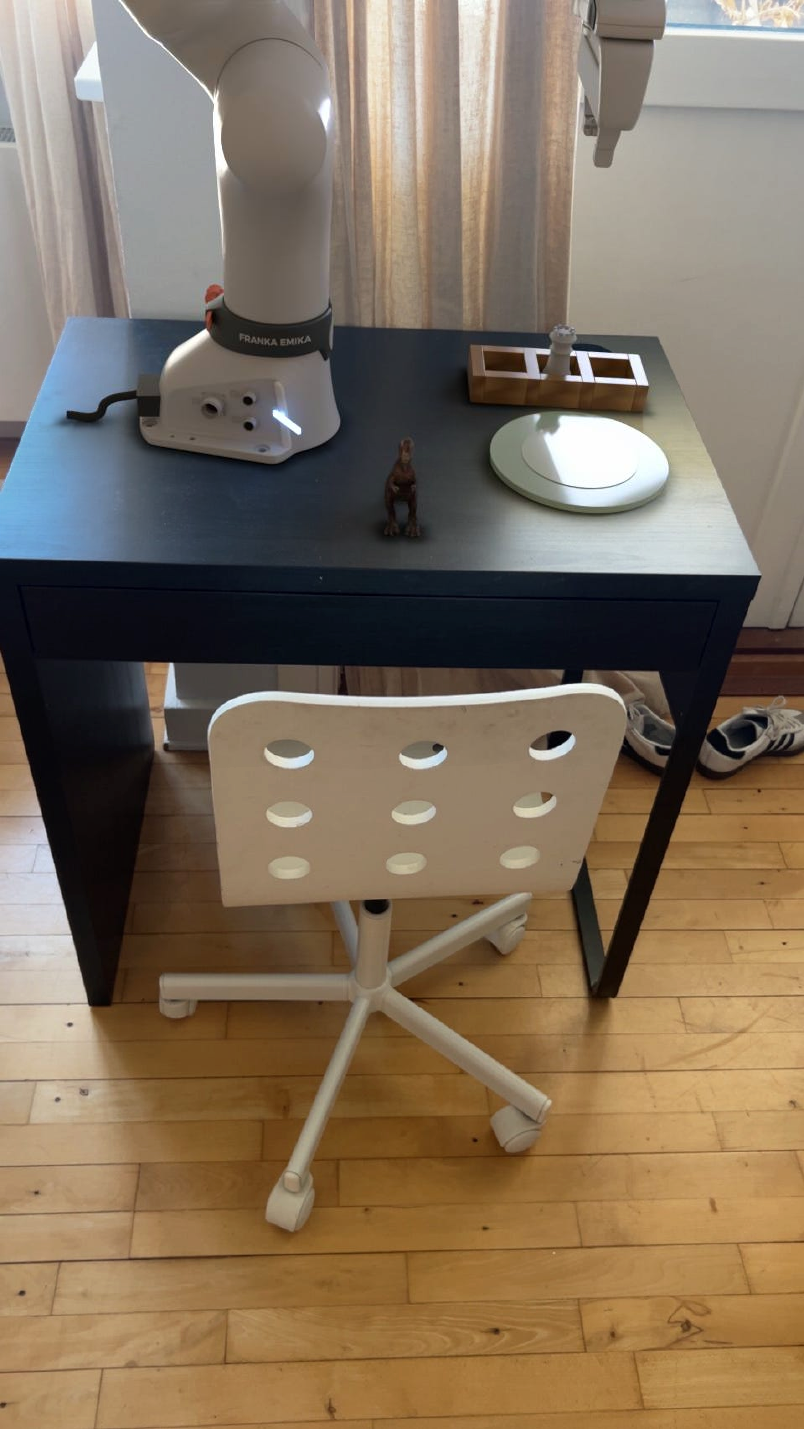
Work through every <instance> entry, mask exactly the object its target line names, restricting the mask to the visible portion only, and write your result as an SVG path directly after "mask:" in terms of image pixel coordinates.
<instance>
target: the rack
mask: <svg viewBox="0 0 804 1429" xmlns="http://www.w3.org/2000/svg"><path fill="white" fill-rule="evenodd" d="M549 356H550V348H536V347H521V346H520V347H519V346H518V347H517V346H505V345H504V346H501V345H485V344H483V345H481V344H470V345H469V352H468V361H467V372H466V373H467V382H468V393H469V402H470V403H477V404H479V403H481V404H492V405H493V404H494V405H495V404H496V405H512V406H529V407H545V408H546V407H547V408H563V409H564V408H565V409H581V410H600V411H619V412H620V411H621V412H632V413H633V412H636V413H644V410H645V407H646V402H647V398H648V393H649V389H650V384H649V381H648V378H647V374H646V372H645V369H644V366H643V362H642V359H641V356H640V354H637V353H636V354H633V353H619V352H618V353H617V352H599V351H583V350H573V351H572V352H571V354H570V363H569V370H570V372H571V375H554V374H541V372H543V369H544V368H545V367H546V365H547V362H548V359H549Z"/></svg>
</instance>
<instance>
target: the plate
mask: <svg viewBox="0 0 804 1429" xmlns="http://www.w3.org/2000/svg"><path fill="white" fill-rule="evenodd" d="M488 456H489V461H490V462H489V463H490V465H491V467H492V469H493V471H494V472H495V474H496V475H497V477H498V478H499V479H500V480H501V481H502V482H503V483H504V484H506V485H507V486H508V487H509V488H511V489H512V490H513V491H515V492H516V493H518V494H519V495H521V496H524V497H525V498H528V499H529V500H531V501H534V502H537V503H539V504H542V505H545V506H548V507H551V508H555V509H559V510H562V511H569V512H574V513H585V514H609V513H610V514H611V513H619V512H624V511H629V510H633V509H636V508H639V507H642V506H644V505H646V504H649V503H650V502H651V501H653V500H655V499H656V498H657V497H658V496H659V495H660V494H661V493H662V492H663V491H664V489H665V487H666V485H667V483H668V479H669V475H670V466H669V461H668V459H667V457H666V454H665V453H664V451H663V450H662V449H661V447H659V445H658V444H657V443H656V442H654V441H653V439H651V438H650V437H649V436H648V435H645V434H644V433H642V432H641V431H639V430H638V429H636V428H634V427H632V426H631V425H628V424H626V423H623V422H621V421H618V420H615V419H612V418H609V417H604V416H601V415H596V414H592V413H585V412H580V411H579V412H578V411H577V412H576V411H559V410H558V411H543V412H537V413H531V414H527V415H524V416H520V417H518V418H515V419H513V420H511V421H509V422H507V423H506V424H504V425H502V426H501V427H500V428H498V430H497V431H496V433H495V434H494V435H493V437H492V439H491V442H490V446H489V455H488Z"/></svg>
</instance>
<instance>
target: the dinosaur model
mask: <svg viewBox="0 0 804 1429" xmlns="http://www.w3.org/2000/svg"><path fill="white" fill-rule="evenodd" d="M397 447H398V454H399V455H398V458H397V459H396V461H395V462H394V463H393V466H392V469H391V470H390V473H389V474H388V475H387V478H386V481H385V484H384V501H385V502H384V505H385V508H386V511H387V516H388V518H387V519H388V520H387V526H386V527H385V529H384V530H383V532H384V535H385V536H390V537H393V536H395V535H396V536H397V535H399V533H400V531H401V529H400V526H399V524H398V523H399V522H398V518H397V511H396V508H395V505H394V502H395V501H399V502H402V503H403V502H405V503H406V504H407V508H408V514H407V524H406V526H405V528H404V535H405V536H409V537H411V538H414V537H419V536H420V535H421V534H420V533H421V532H420V526H419V520H418V517H417V510H418V489H417V488H418V480H417V473H416V468H415V466H414V465H413V463H412V459H413V458H412V457H413V455H414V452H415V451H414V450H415V446H414V441H413V439H412V438H411V437H402V438H401V440H400V441H399V443H398V446H397Z"/></svg>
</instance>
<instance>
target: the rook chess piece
mask: <svg viewBox="0 0 804 1429" xmlns="http://www.w3.org/2000/svg"><path fill="white" fill-rule="evenodd" d="M549 339H550V340H551V344H550V346H548V349H550V356H549V359H548V362H547V365H546V367H545V368H544V369H543V372H541V374H554V375H571V372H570V370H569V363H570V354H571V352H572V351H574V349H573V347H572V346H573V344H575V342H576V341H577V339H578V338H577V335H576V330H575V328H574V326H571V327H570V325H568V324H565V326H564V327H563V325H562V324H560V323H559V324H557V326H556V325H554V327H553V330H552V331H551V332H550V333H549Z"/></svg>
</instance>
